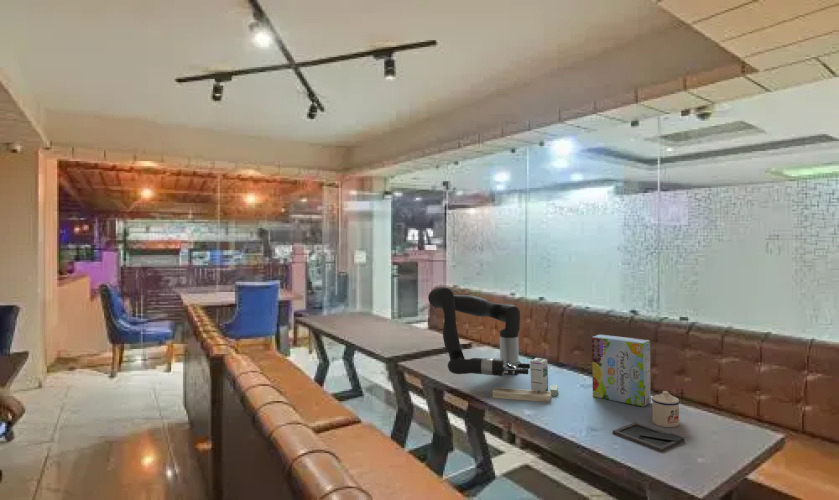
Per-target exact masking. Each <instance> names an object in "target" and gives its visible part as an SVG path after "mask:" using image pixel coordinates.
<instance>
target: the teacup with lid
mask: <svg viewBox="0 0 839 500" xmlns="http://www.w3.org/2000/svg"><path fill="white" fill-rule="evenodd" d="M651 402H652V422H653V423H654V424H655V425H657V426H659V427H664V428H676V427H678V426H679V425H680V403H681V402H680V400H679V398H678V397H676V396H674V395H672V394H670V393H669V391H667V390H663V391H662V393H659V394H654V395H653V396H652V397H651Z"/></svg>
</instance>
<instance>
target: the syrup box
mask: <svg viewBox="0 0 839 500" xmlns="http://www.w3.org/2000/svg"><path fill="white" fill-rule="evenodd" d="M529 364H530V390H537V391H538V390H540V391H549V377H548V376H549V372H548V371H549V370H548V359H546V358H541V357H535V358H534V359H532V360H530V361H529Z"/></svg>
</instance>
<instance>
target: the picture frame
mask: <svg viewBox="0 0 839 500" xmlns="http://www.w3.org/2000/svg"><path fill="white" fill-rule="evenodd" d="M612 434H613V435H615V436H618V437H621V438H624V439H626V440H629V441H631V442H634V443H636V444H639V445H642V446H644V447H647V448H650V449H652V450H655V451H657V452H660V453H662V452H666V451H667V450H669V449H671V448H674V447H676V446H679V445H681V444H683V443H685V437H684V436H681V435H679V434H675V433H672V432H665V431H663V430H660V429H657V428H654V427H651V426H648V425H645V424H642V423H639V422H636V421H634V422H632V423H629V424H627V425H624V426H622V427H618V428H616V429H614V430H612Z"/></svg>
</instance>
